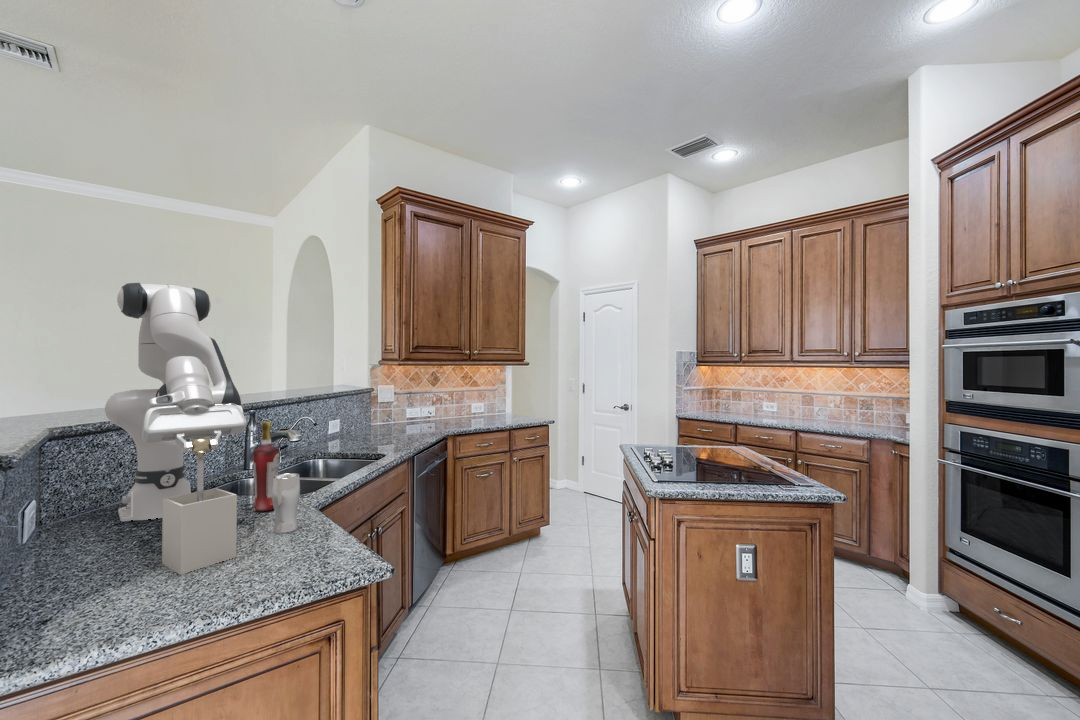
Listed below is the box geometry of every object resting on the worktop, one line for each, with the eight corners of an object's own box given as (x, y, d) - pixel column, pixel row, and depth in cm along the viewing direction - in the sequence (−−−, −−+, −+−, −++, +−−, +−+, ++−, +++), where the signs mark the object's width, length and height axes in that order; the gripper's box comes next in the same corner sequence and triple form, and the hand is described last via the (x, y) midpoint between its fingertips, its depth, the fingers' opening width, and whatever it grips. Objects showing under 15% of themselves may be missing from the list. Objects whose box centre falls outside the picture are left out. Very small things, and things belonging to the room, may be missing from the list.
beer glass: (287, 534, 124) (287, 479, 124) (265, 533, 125) (265, 478, 126) (305, 526, 131) (305, 473, 131) (284, 524, 132) (284, 472, 133)
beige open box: (162, 563, 106) (162, 498, 106) (216, 547, 115) (216, 488, 116) (180, 575, 100) (181, 506, 100) (236, 557, 109) (236, 494, 109)
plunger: (170, 523, 107) (171, 439, 107) (213, 513, 114) (213, 435, 114) (185, 530, 102) (186, 443, 102) (228, 519, 109) (229, 438, 109)
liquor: (259, 506, 150) (260, 421, 150) (283, 505, 151) (283, 420, 151) (247, 513, 142) (248, 423, 143) (272, 512, 143) (273, 423, 144)
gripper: (238, 411, 123) (249, 451, 117) (138, 417, 108) (143, 464, 102) (243, 395, 120) (254, 435, 114) (140, 399, 105) (146, 446, 99)
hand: (201, 449), depth 107 cm, fingers closed on plunger, 4 cm apart
